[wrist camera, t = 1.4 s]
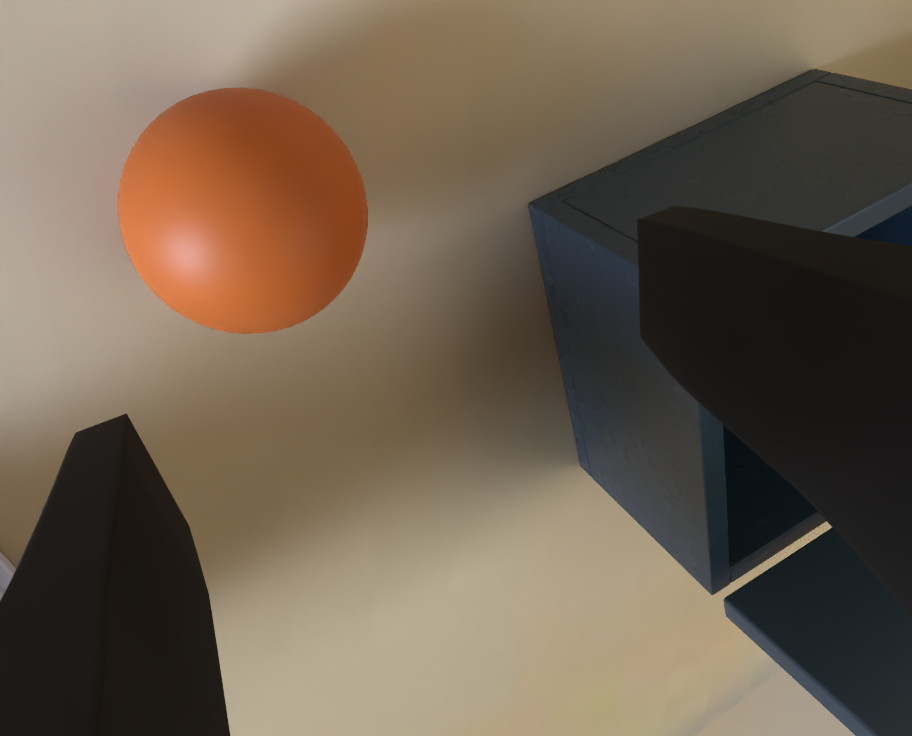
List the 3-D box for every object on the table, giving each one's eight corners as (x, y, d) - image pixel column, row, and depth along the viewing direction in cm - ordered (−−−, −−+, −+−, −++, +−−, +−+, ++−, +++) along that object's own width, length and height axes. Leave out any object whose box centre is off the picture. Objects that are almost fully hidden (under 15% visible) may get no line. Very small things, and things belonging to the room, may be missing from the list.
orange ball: (167, 313, 19) (210, 417, 15) (59, 118, 16) (79, 187, 12) (350, 230, 20) (432, 308, 16) (280, 34, 17) (360, 74, 13)
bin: (526, 202, 22) (691, 299, 17) (814, 67, 24) (1035, 115, 19) (579, 466, 28) (711, 596, 23) (805, 337, 30) (970, 428, 25)
